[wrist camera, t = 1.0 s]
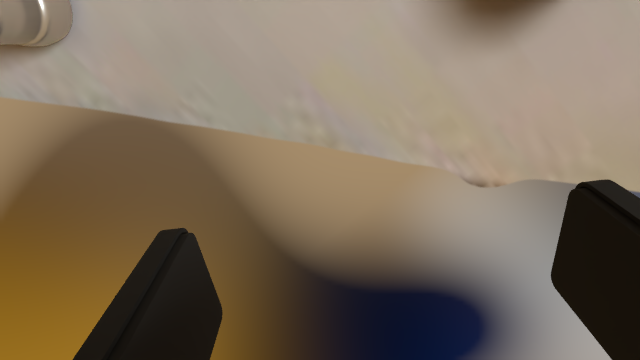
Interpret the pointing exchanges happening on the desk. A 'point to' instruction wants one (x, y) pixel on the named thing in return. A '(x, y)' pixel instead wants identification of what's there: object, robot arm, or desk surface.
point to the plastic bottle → (34, 21)
